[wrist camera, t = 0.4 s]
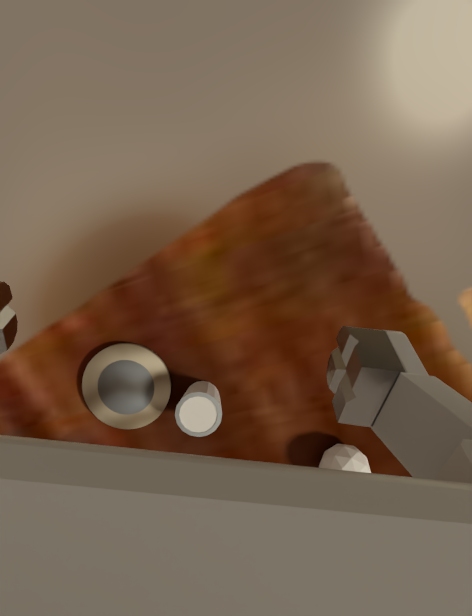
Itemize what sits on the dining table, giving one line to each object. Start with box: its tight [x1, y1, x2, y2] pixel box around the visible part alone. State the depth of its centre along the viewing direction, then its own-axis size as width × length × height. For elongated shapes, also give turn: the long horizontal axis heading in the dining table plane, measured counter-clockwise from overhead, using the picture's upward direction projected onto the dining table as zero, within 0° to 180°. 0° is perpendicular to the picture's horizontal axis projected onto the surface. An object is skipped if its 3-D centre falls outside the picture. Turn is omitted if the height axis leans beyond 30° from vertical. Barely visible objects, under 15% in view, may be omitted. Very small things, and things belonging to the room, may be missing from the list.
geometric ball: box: [319, 444, 371, 473], centre depth 61 cm, size 8×8×8 cm
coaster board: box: [82, 343, 171, 429], centre depth 63 cm, size 14×14×1 cm
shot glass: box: [175, 381, 222, 437], centre depth 60 cm, size 7×7×7 cm
